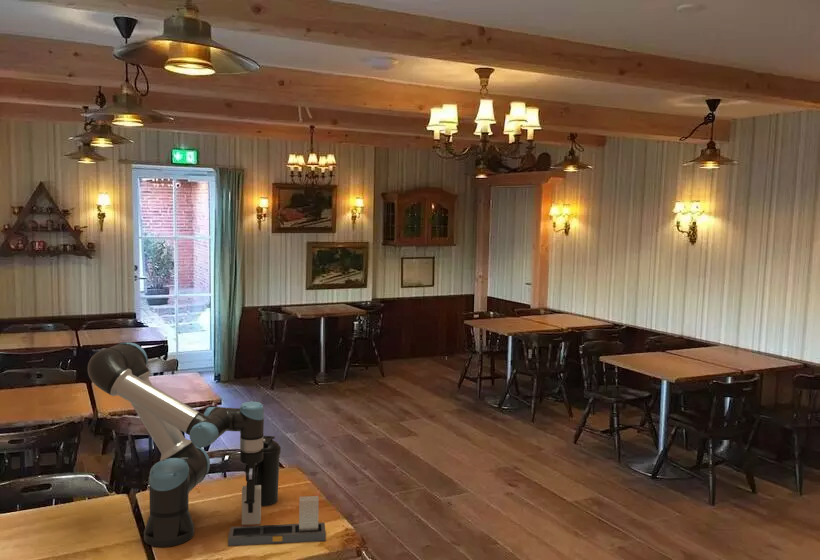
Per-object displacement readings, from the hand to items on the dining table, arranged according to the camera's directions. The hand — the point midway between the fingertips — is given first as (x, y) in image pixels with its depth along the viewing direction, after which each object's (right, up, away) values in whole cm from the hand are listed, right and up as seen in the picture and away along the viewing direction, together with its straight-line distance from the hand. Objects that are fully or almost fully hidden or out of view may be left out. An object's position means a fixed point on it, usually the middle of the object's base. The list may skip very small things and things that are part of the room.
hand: (251, 514), depth 223 cm
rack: (+11, -4, -10) cm, 15 cm away
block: (0, -2, 0) cm, 2 cm away
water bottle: (+1, -1, +17) cm, 17 cm away
